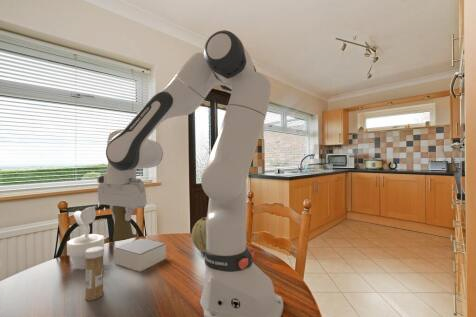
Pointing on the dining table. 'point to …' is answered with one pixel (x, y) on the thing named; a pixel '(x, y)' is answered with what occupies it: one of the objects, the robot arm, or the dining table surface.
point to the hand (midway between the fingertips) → (121, 219)
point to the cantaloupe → (199, 234)
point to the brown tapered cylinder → (121, 225)
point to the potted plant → (84, 238)
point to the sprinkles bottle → (94, 273)
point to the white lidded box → (140, 254)
